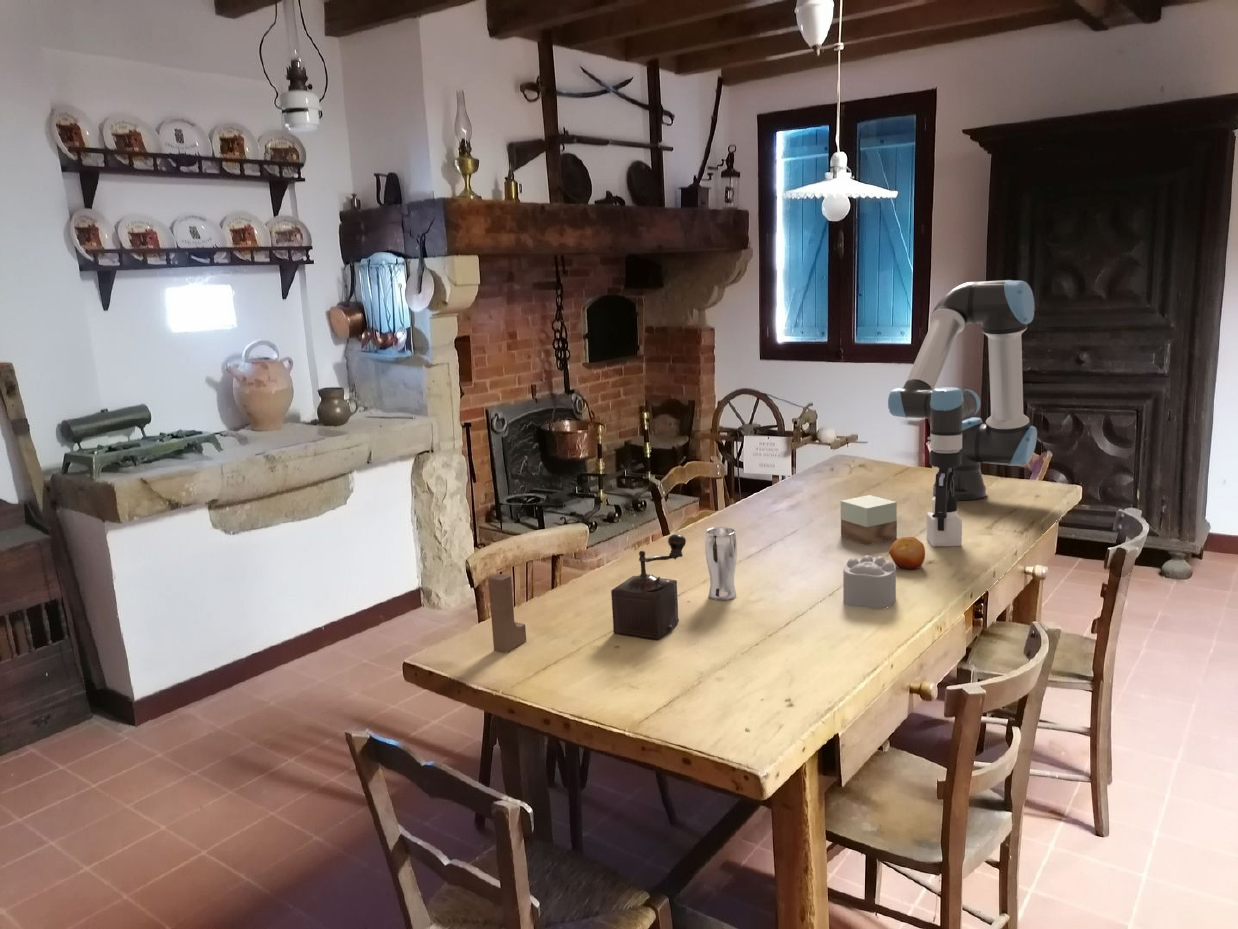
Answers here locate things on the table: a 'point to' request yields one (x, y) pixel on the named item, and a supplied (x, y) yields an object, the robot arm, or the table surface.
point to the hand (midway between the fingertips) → (943, 537)
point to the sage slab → (868, 510)
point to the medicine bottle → (952, 525)
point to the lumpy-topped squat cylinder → (869, 582)
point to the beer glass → (721, 561)
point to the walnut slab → (869, 532)
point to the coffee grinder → (647, 600)
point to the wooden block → (504, 615)
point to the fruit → (907, 553)
